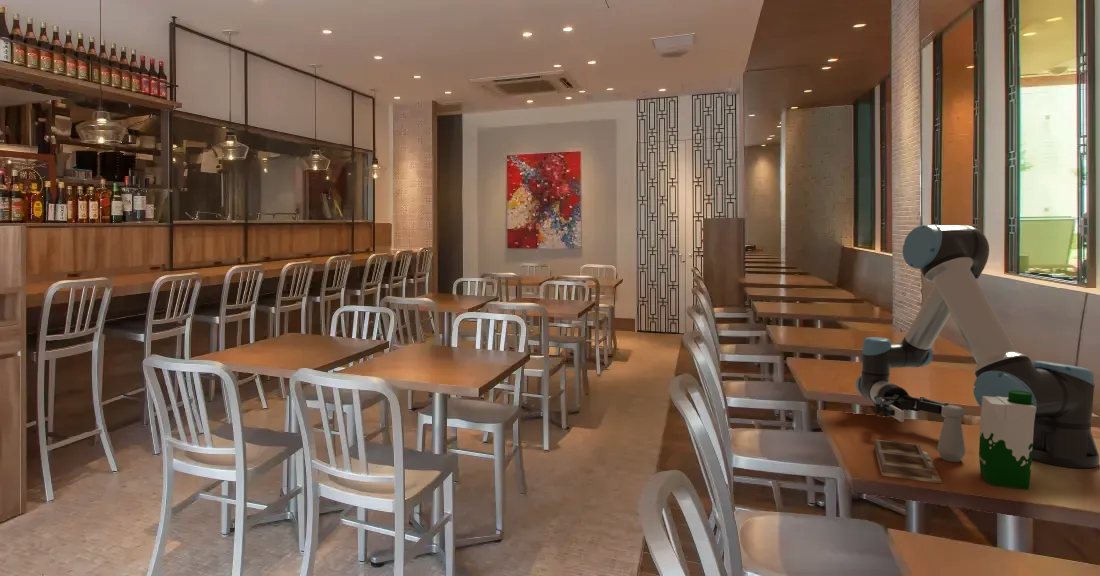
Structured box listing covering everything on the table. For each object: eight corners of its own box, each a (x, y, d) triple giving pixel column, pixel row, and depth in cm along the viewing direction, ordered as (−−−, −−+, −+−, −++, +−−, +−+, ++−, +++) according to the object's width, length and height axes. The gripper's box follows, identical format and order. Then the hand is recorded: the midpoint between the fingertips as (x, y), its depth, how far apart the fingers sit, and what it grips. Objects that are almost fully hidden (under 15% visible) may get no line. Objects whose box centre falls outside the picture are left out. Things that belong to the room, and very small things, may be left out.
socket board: (926, 454, 151) (926, 444, 151) (941, 483, 133) (941, 472, 132) (874, 448, 156) (874, 438, 156) (881, 475, 137) (882, 464, 137)
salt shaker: (969, 464, 144) (972, 410, 143) (942, 462, 145) (945, 408, 144) (958, 456, 150) (960, 403, 149) (932, 454, 151) (934, 402, 150)
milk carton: (1035, 492, 128) (1041, 398, 127) (984, 485, 131) (988, 394, 130) (1021, 477, 136) (1026, 389, 135) (973, 471, 140) (978, 385, 138)
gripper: (933, 410, 177) (980, 432, 156) (845, 408, 179) (879, 430, 158) (935, 384, 177) (981, 403, 156) (846, 383, 179) (880, 401, 157)
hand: (930, 417), depth 157 cm, fingers open, 13 cm apart
